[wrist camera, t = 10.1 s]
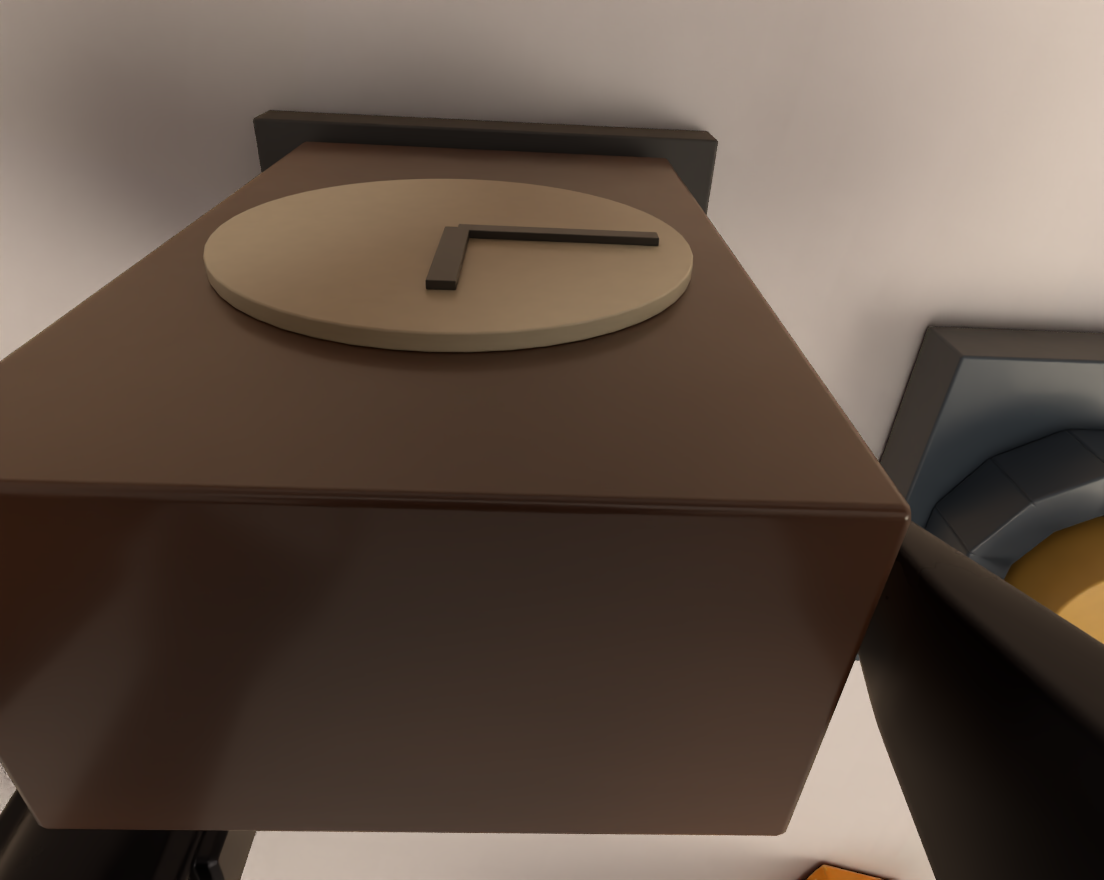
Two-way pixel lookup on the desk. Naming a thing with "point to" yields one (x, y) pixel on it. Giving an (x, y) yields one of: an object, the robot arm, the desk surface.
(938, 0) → the desk surface
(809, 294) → the desk surface
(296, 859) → the desk surface
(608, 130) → the dark grey flat slab
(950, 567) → the robot arm
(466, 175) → the alarm clock
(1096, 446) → the switch block
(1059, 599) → the button
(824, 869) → the supplement box
